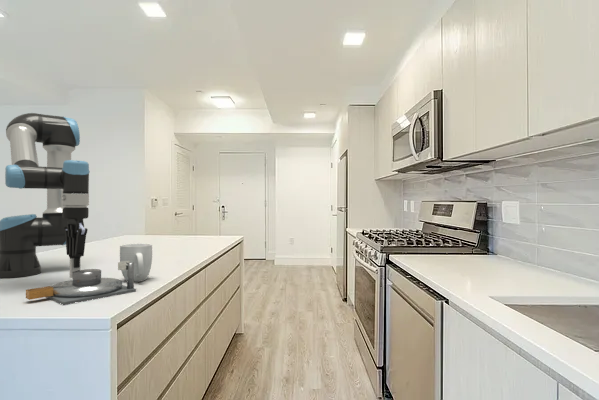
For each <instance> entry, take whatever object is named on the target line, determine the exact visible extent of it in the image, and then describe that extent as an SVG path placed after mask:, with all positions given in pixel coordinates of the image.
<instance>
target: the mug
mask: <svg viewBox="0 0 599 400" xmlns="http://www.w3.org/2000/svg"><path fill="white" fill-rule="evenodd" d="M121 261H130V262H134V283H135V282H136V283H138V282H143V281H145V280H147V278H148V277H149V275H150V272H151V268H152V264H153V263H152V262H153V244H152V243H142V242H135V243H134V242H133V243H125V244H120V245H119V262H121ZM120 271H121V273H122V274H121V275H122V276H123V278H124V280H125V281H126V282H127V270H120Z"/></svg>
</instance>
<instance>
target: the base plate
mask: <svg viewBox="0 0 599 400" xmlns="http://www.w3.org/2000/svg"><path fill="white" fill-rule="evenodd" d="M135 292H137V288H135V287H134V288H132V289H127V285H124V284H122V287H121V288H120V289H118V290H115V291H112V292H108V293H103V294H98V295H91V296H80V297H60V296H49V297H45V299H46V298H47V299H49V300H51V301H53V302H55V301H56V302H55V303H57V302H58V303H57V304H60V303H61V304H60V305H62V304H63V305H62V306H66V305H65V304H67V305H71V304H70V303H72V304H76V303H75V302H78V303H82V302H81V301H83V302H87V300H88V301H92V299H93V300H97V299H98V298H99V299H103V297H104V298H110V297H114V296H119V295H124V294H129V293H135Z"/></svg>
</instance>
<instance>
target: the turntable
mask: <svg viewBox="0 0 599 400" xmlns="http://www.w3.org/2000/svg"><path fill="white" fill-rule="evenodd" d="M122 285H123V280H121V279H120V278H115V277H114V278H113V277H101V283H100V284H97V285H93V286H82V287H78V286H73V285H72V279H71V280H67V281H61V282H58V283H55V284H52V285H47V286H42V287H35V288H27V289H25V299H26V300H36V299H42V298H46V297H49V296H60V297H80V296H91V295H98V294H103V293H108V292H112V291H115V290H118V289H120V288H121V287H122Z"/></svg>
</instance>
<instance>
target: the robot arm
mask: <svg viewBox="0 0 599 400" xmlns="http://www.w3.org/2000/svg"><path fill="white" fill-rule="evenodd" d="M5 135H6V138H7V140H8V141H9V144H10V145H9V146H10V156H11V157H10V159H11V160H10V161H11V164H8V165H6V166H5V172H4V174H5V175H4V178H5V179H4V180H5V183H4V184H5V186H6V187H7V188H11V189H21V190H22V189H45V190H46V210H44V211H43V212H42V217H37V214H34V213H31V214H21V215H11V216H7V217H3V218H1V219H0V279H5V278H6V279H8V278H9V279H10V278H21V277H22V278H23V277H29V276H34V275H38V274H40V273H41V272H42V266H41V264H40V261H39V259H38V255H37V250H36V249H37V247H49V246H65V248H66V255H67V256H68V257H69V278H70V279H72V278H73V272H74V271H77V270H81V258H82V257H84V256H85V247H86V238H87V234H88V228H87V227H85V222H84V219H88V218H89V212H90V210H89V207H88V206H89V205H90V204H89V203H90V194H89V193H90V191H89V190H90V189H89V188H90V184H89V183H90V167H89V166H90V164H89V162H88V161H85V160H77V159H76V160H73V159H72V153H73V152H74V151H75V150H76V147H77V146H79V145H80V143H81V139H80V138H81V137H80V129H79V125H78V121H77V120H76V119H74V118H71V117H66V116H59V115H51V114H42V113H36V112H29V113H22V114H21V115H17V116H16V117H14V118H12V119H11V121H9V123H8V124H7V126H6V128H5ZM36 143H42V148H43V149H44V150H45V151H46V165H47V166H40V165H39V159H38V153H37V148H36V147H37V146H36Z"/></svg>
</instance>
